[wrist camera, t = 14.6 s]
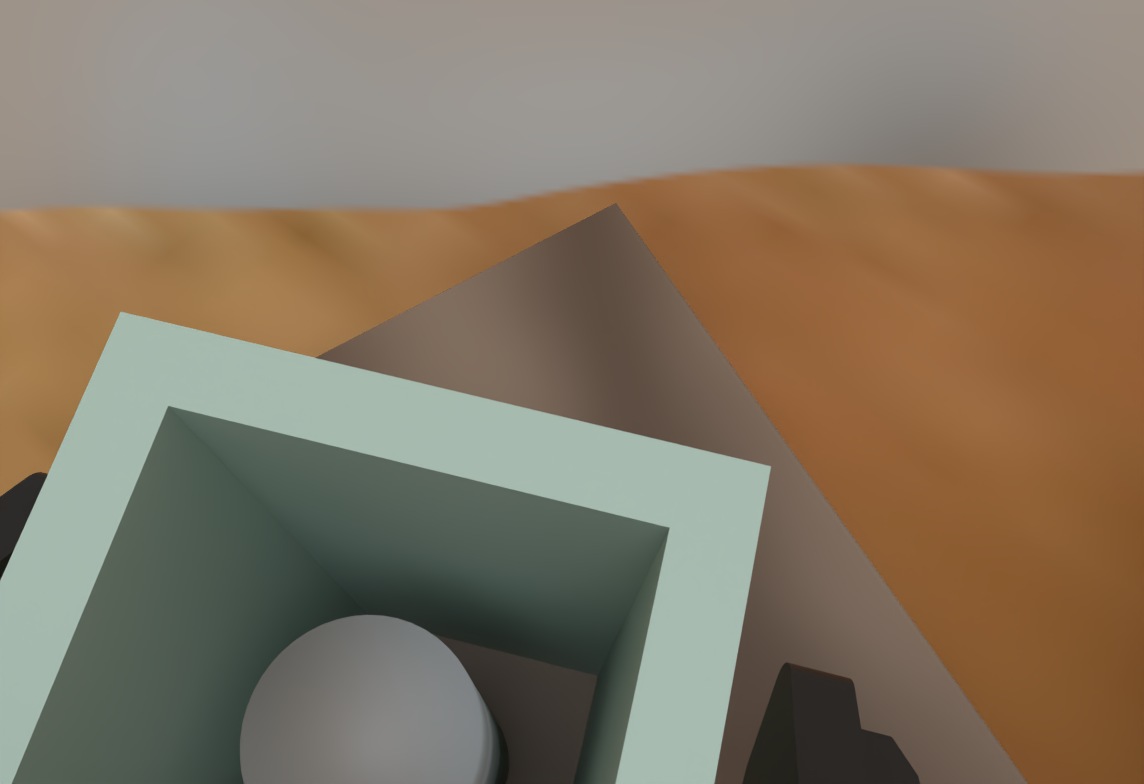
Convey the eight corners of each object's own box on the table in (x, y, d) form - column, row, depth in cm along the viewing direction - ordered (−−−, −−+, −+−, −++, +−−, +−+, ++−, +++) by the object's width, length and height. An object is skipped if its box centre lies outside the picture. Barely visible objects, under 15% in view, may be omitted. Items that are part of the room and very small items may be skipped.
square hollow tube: (347, 572, 19) (120, 311, 9) (644, 646, 19) (770, 465, 8) (240, 901, 17) (-217, 1064, 7) (571, 991, 17) (620, 1305, 6)
